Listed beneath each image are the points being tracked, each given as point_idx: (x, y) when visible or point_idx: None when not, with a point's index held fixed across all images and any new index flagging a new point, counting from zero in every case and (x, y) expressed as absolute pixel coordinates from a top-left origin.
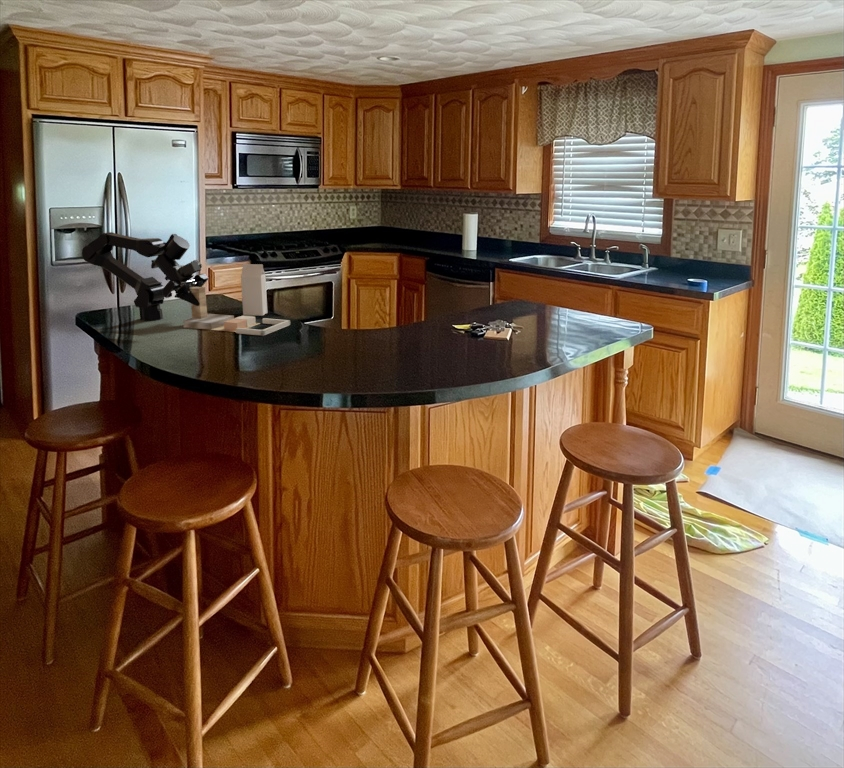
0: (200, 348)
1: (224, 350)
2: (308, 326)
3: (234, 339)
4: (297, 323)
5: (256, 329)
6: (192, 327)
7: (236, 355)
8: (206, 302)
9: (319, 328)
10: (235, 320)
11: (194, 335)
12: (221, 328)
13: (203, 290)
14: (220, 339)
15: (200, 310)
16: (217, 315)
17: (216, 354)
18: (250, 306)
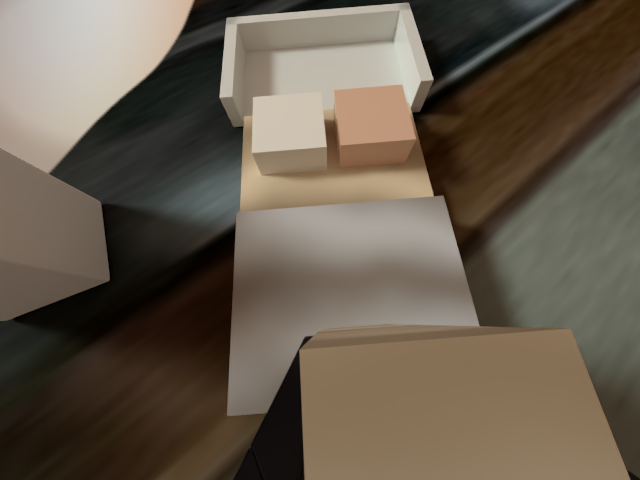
0: (605, 116)
1: (562, 53)
2: (185, 35)
3: (442, 103)
4: (149, 75)
5: (405, 24)
6: None
7: (573, 8)
8: (307, 337)
9: (203, 6)
10: (362, 116)
11: (489, 264)
12: (396, 183)
13: (363, 340)
14: (471, 138)
15: (402, 324)
16: (263, 297)
17: (609, 45)
18: (38, 224)
